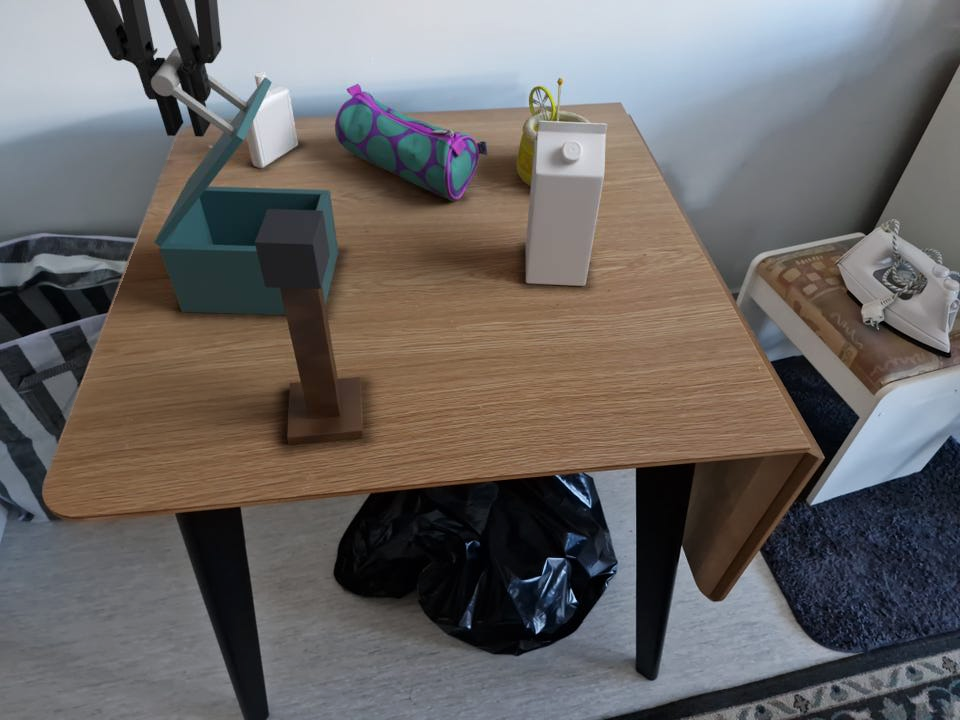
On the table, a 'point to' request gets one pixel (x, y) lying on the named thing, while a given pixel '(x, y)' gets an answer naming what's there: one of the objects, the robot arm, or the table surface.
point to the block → (293, 248)
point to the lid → (233, 132)
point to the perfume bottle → (272, 126)
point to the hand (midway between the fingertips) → (189, 128)
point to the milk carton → (564, 201)
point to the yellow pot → (531, 129)
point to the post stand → (318, 376)
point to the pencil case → (408, 145)
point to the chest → (235, 249)
